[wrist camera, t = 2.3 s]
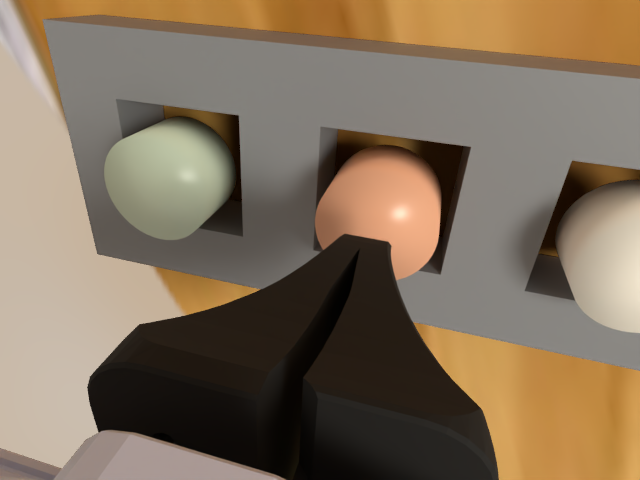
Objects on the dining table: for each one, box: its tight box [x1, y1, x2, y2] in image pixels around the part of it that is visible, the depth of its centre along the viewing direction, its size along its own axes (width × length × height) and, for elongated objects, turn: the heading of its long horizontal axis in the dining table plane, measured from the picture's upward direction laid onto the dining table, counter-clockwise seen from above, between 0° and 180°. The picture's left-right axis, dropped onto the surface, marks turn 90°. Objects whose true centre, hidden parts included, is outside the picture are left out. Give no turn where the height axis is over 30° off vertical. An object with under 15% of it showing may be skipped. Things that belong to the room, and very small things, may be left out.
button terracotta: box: [315, 145, 442, 280], centre depth 15 cm, size 4×4×3 cm
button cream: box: [555, 180, 640, 333], centre depth 14 cm, size 4×4×3 cm
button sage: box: [104, 117, 236, 240], centre depth 17 cm, size 4×4×3 cm
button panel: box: [43, 15, 640, 371], centre depth 17 cm, size 26×10×3 cm, turn 86°
